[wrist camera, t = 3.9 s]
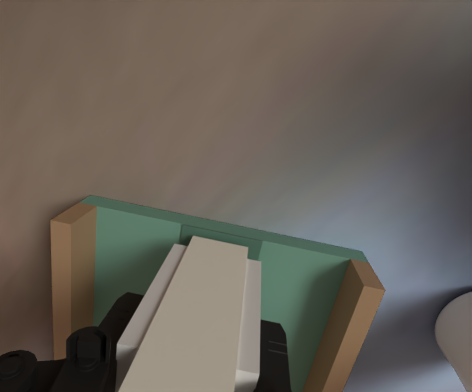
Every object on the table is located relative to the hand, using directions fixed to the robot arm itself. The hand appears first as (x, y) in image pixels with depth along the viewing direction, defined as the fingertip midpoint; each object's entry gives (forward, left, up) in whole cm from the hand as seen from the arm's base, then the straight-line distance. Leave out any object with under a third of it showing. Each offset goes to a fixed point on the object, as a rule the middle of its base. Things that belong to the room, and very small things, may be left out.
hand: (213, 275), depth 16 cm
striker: (+1, 0, -1) cm, 2 cm away
